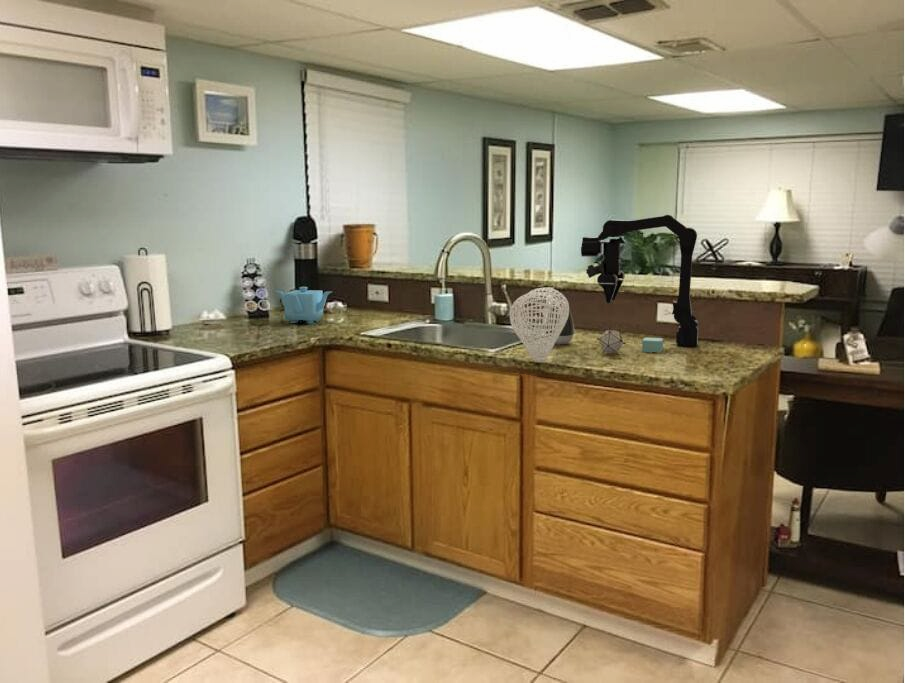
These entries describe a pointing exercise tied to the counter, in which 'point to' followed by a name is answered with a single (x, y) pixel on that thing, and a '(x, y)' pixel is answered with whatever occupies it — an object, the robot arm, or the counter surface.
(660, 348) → the teal block
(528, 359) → the counter surface
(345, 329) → the counter surface
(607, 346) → the game die
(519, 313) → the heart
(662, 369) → the counter surface
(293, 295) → the teakettle
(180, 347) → the counter surface
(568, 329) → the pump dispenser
